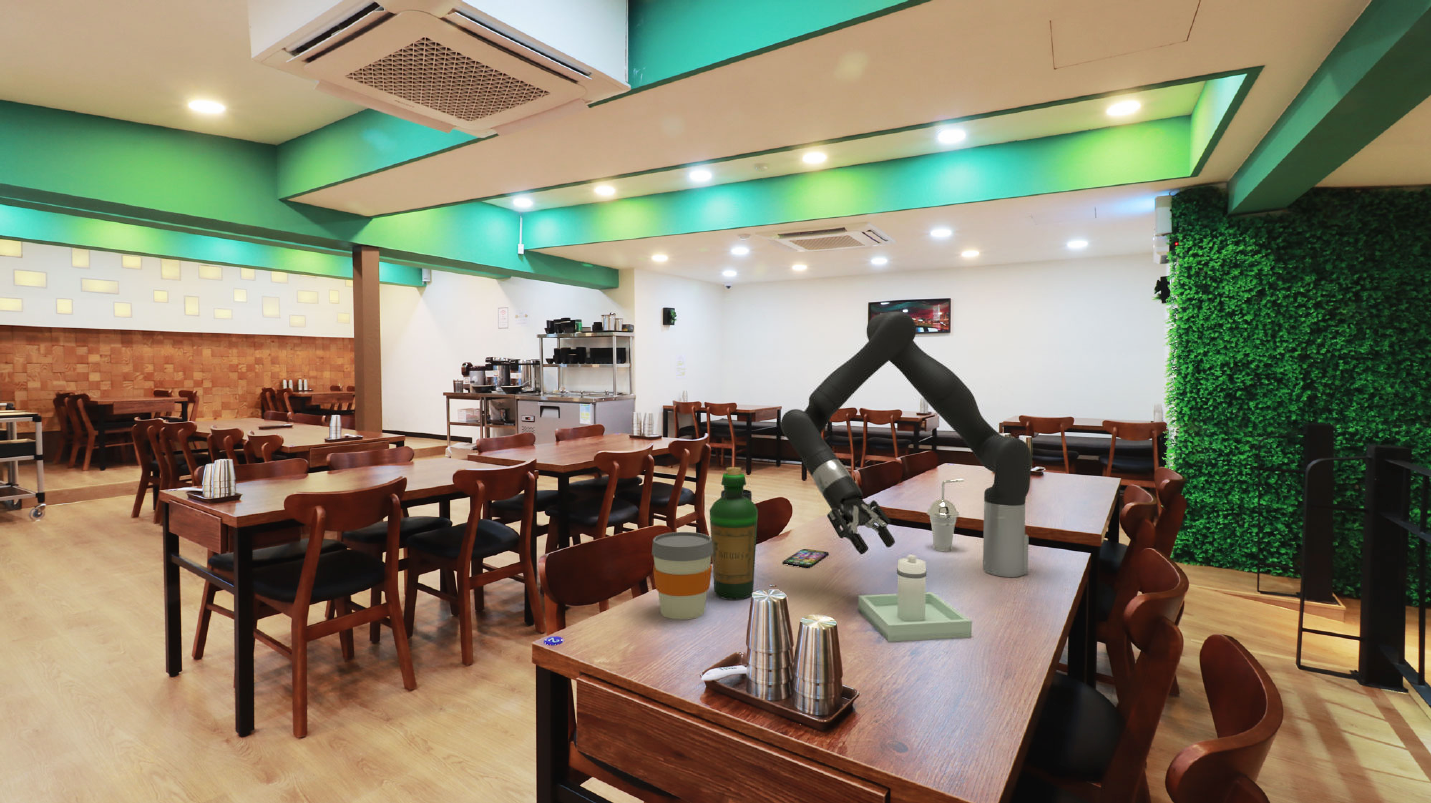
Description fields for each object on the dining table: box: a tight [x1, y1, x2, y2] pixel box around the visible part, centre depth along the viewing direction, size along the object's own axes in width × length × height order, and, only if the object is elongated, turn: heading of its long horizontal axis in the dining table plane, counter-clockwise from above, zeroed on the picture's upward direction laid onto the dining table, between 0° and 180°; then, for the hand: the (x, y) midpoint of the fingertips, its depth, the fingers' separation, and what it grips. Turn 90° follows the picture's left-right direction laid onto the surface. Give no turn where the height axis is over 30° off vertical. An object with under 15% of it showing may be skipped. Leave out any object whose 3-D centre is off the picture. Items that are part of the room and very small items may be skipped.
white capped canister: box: [896, 554, 927, 622], centre depth 127 cm, size 6×6×12 cm
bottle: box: [709, 466, 759, 600], centre depth 144 cm, size 11×11×28 cm
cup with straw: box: [926, 478, 964, 552], centre depth 180 cm, size 8×9×20 cm
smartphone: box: [782, 548, 829, 569], centre depth 171 cm, size 8×1×15 cm
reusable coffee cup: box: [651, 531, 713, 621], centre depth 134 cm, size 12×13×15 cm
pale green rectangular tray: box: [858, 591, 973, 643], centre depth 128 cm, size 16×16×3 cm
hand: (878, 548), depth 134 cm, fingers open, 8 cm apart
